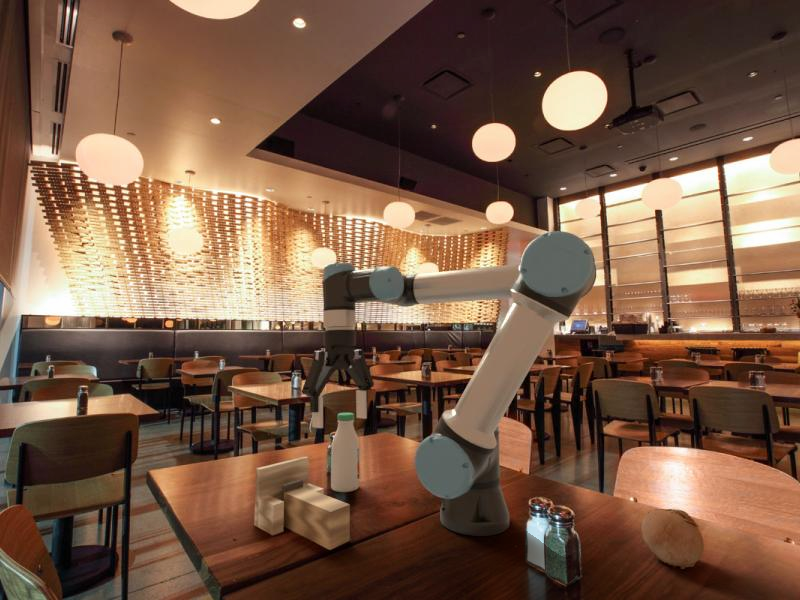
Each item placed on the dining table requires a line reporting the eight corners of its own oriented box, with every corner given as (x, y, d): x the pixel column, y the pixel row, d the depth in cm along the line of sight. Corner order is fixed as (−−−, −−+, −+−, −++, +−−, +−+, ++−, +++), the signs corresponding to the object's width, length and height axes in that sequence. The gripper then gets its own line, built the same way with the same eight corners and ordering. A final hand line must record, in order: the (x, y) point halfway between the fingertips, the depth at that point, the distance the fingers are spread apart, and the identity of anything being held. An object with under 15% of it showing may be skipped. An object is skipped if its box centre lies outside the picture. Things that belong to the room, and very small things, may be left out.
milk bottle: (354, 494, 109) (354, 416, 111) (326, 492, 111) (327, 415, 113) (362, 484, 117) (363, 411, 119) (336, 482, 118) (337, 410, 121)
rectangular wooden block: (349, 540, 84) (349, 497, 84) (329, 550, 80) (330, 504, 81) (300, 517, 95) (301, 479, 96) (281, 525, 91) (282, 485, 92)
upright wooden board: (323, 516, 96) (324, 462, 97) (272, 535, 86) (274, 475, 87) (304, 507, 100) (305, 456, 102) (254, 525, 91) (255, 468, 92)
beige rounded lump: (693, 578, 75) (717, 527, 75) (684, 584, 69) (710, 529, 69) (639, 541, 82) (660, 494, 82) (626, 544, 76) (649, 493, 76)
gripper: (364, 331, 109) (366, 413, 107) (285, 329, 90) (285, 430, 88) (386, 329, 105) (388, 415, 102) (307, 327, 85) (307, 433, 83)
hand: (340, 422), depth 95 cm, fingers open, 13 cm apart
